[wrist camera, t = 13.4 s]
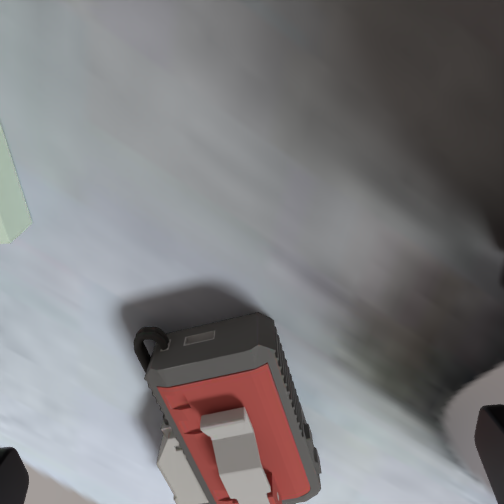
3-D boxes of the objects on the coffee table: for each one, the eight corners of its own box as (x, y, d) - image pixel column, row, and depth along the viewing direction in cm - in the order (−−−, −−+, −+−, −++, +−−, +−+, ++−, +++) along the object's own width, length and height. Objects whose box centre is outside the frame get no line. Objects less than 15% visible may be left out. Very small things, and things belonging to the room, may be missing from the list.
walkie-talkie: (102, 324, 23) (220, 543, 31) (71, 387, 19) (216, 617, 28) (267, 285, 22) (342, 523, 30) (270, 343, 18) (355, 597, 26)
